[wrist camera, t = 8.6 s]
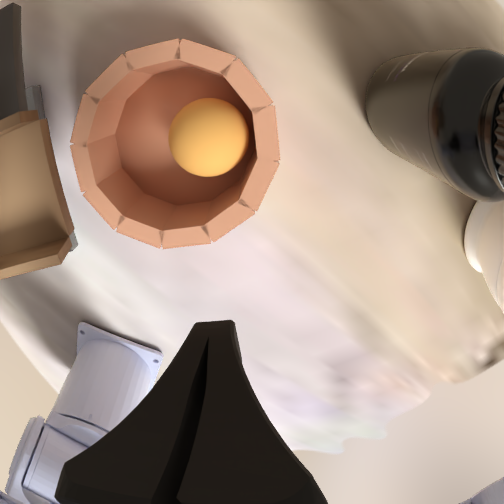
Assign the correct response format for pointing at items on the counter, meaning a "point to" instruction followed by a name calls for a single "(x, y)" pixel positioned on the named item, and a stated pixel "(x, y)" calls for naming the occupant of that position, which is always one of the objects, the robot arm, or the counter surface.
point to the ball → (208, 137)
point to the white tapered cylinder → (487, 245)
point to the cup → (157, 146)
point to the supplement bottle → (444, 116)
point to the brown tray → (26, 170)
